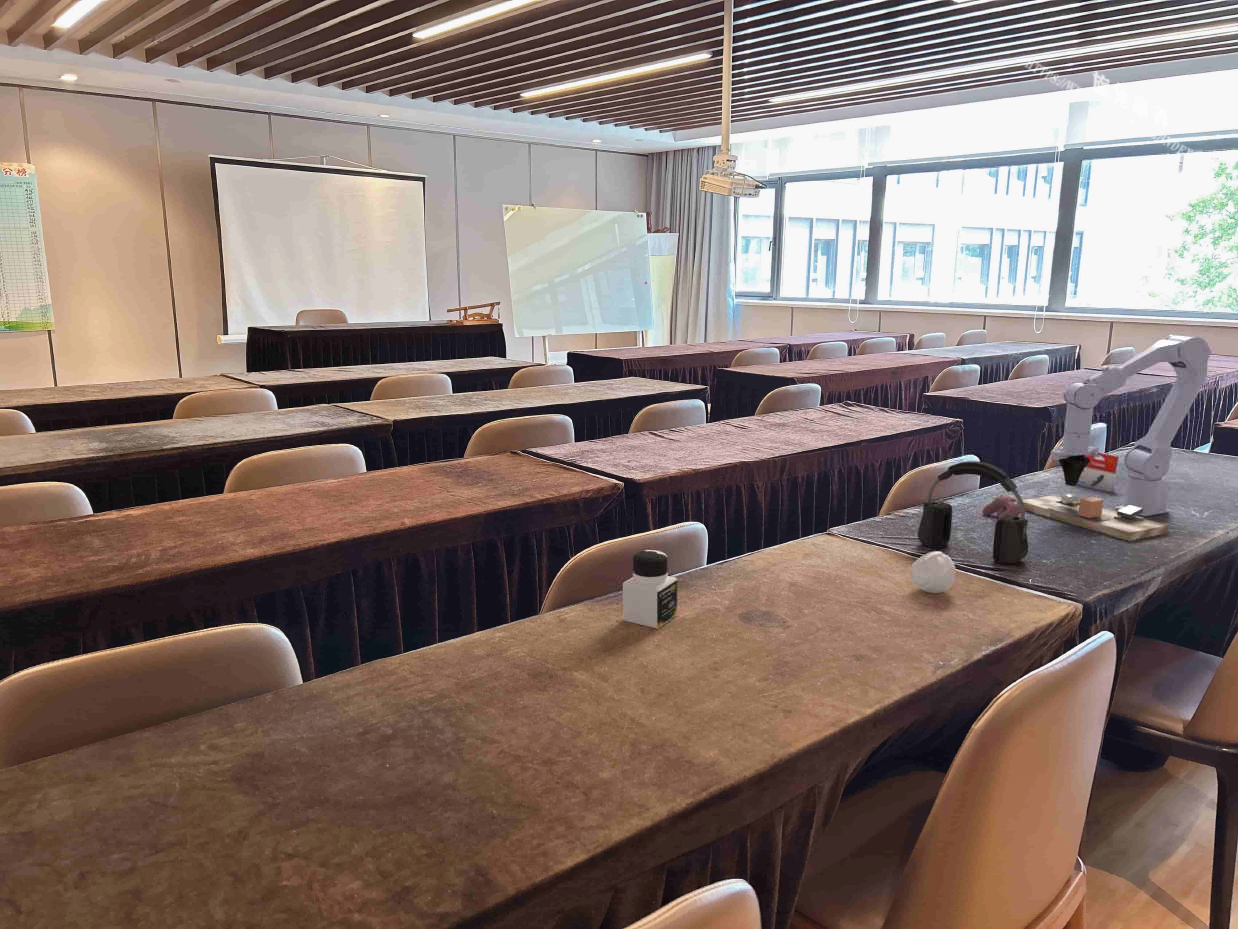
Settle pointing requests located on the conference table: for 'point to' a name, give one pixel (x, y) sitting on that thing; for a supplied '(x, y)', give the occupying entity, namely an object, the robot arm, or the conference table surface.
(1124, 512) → the rocker switch
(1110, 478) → the ink cartridge box
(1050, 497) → the control panel
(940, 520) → the headphones
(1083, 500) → the slide paddle
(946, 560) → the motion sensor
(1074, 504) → the push button
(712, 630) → the conference table surface
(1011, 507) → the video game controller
